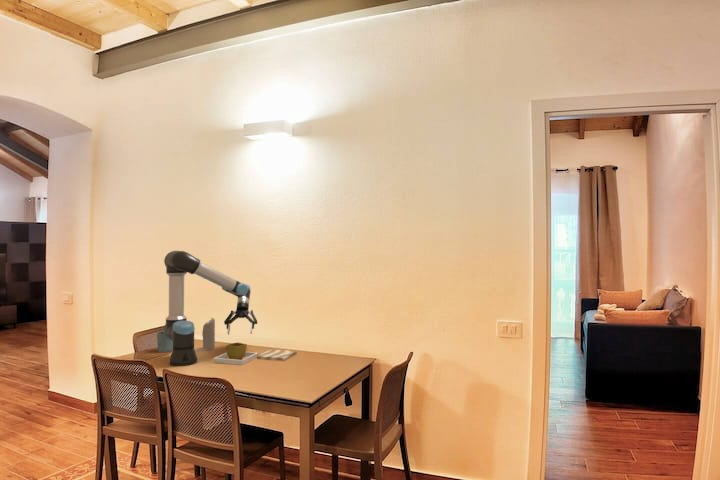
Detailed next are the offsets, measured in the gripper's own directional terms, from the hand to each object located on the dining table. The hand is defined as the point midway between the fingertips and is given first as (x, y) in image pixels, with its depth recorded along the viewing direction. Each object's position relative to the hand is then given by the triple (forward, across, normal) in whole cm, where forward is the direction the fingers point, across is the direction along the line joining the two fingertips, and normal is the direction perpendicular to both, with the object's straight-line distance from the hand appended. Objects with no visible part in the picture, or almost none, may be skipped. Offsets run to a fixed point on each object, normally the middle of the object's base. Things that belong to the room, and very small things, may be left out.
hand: (239, 333), depth 273 cm
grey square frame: (+16, +1, -3) cm, 17 cm away
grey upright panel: (-4, +26, -23) cm, 35 cm away
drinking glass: (-4, +49, -24) cm, 55 cm away
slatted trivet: (+13, -23, -7) cm, 27 cm away
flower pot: (+17, +1, -3) cm, 17 cm away
